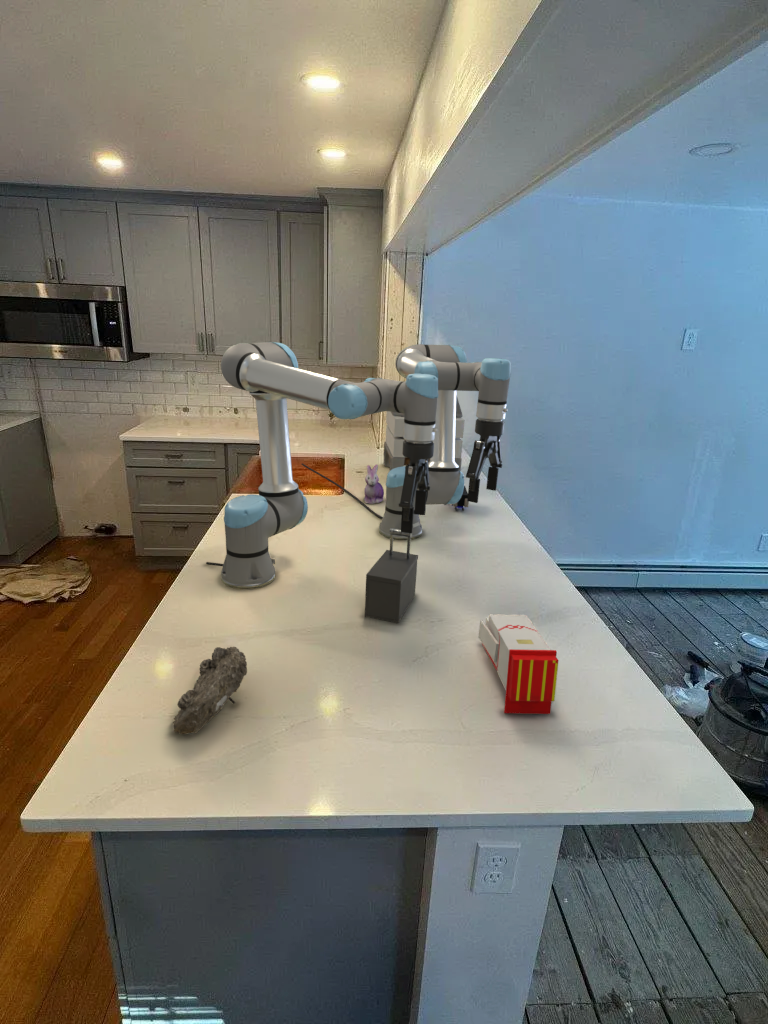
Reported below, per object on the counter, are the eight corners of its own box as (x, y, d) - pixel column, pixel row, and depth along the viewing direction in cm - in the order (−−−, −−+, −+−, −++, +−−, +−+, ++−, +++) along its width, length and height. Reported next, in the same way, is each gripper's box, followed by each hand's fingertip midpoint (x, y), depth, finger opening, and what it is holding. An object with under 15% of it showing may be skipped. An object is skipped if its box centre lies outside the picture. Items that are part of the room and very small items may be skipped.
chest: (383, 589, 160) (385, 554, 156) (415, 595, 158) (417, 560, 154) (364, 616, 146) (365, 578, 142) (398, 623, 143) (400, 585, 139)
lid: (386, 553, 157) (387, 523, 154) (418, 559, 155) (420, 528, 152) (365, 578, 142) (367, 546, 139) (400, 585, 139) (402, 552, 136)
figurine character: (468, 516, 224) (463, 500, 237) (471, 498, 221) (465, 483, 234) (452, 515, 224) (447, 499, 237) (453, 498, 220) (449, 482, 234)
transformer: (382, 463, 289) (386, 382, 275) (445, 464, 293) (451, 384, 279) (390, 482, 257) (394, 392, 243) (460, 483, 261) (468, 394, 247)
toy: (524, 600, 137) (567, 656, 108) (520, 651, 140) (560, 720, 111) (474, 599, 137) (504, 655, 107) (471, 650, 140) (498, 719, 110)
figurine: (368, 505, 226) (369, 469, 221) (357, 498, 235) (358, 463, 230) (389, 503, 230) (391, 467, 225) (378, 495, 239) (379, 461, 234)
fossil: (197, 648, 121) (247, 617, 116) (228, 678, 124) (278, 648, 119) (149, 728, 102) (207, 694, 97) (187, 761, 105) (245, 730, 100)
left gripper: (421, 453, 124) (415, 543, 131) (444, 432, 146) (438, 509, 154) (388, 449, 126) (384, 538, 133) (416, 429, 148) (411, 506, 156)
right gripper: (486, 428, 138) (477, 510, 145) (519, 414, 158) (510, 487, 165) (457, 424, 141) (450, 504, 149) (494, 411, 162) (486, 482, 169)
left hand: (413, 523), depth 143 cm, fingers open, 13 cm apart
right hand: (482, 495), depth 157 cm, fingers open, 13 cm apart
